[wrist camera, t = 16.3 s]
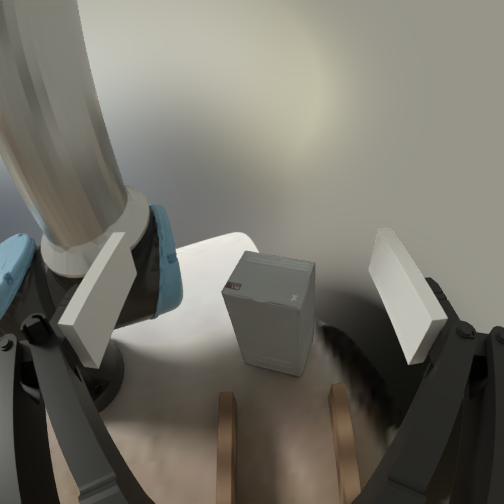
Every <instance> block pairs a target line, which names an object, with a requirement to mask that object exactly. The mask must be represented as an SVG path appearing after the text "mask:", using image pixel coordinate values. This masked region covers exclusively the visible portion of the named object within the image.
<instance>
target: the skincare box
mask: <svg viewBox="0 0 504 504" xmlns="http://www.w3.org/2000/svg"><path fill="white" fill-rule="evenodd" d="M221 293H222V295H223V298H224V301H225V304H226V307H227V310H228V313H229V316H230V319H231V322H232V325H233V328H234V332H235V335H236V338H237V341H238V344H239V347H240V350H241V352H242V355H243V358H244V361H245V363H247V364H251V365H254V366H258V367H262V368H266V369H270V370H274V371H278V372H282V373H286V374H290V375H295V376H299V377H300V376H301V375H302V372H303V369H304V366H305V363H306V360H307V357H308V354H309V351H310V348H311V344H312V341H313V335H314V309H315V308H314V307H315V262H310V261H304V260H298V259H292V258H285V257H280V256H274V255H268V254H262V253H256V252H250V251H245V252H244V254H243V256H242V257H241V259H240V261H239V262H238V264H237V266H236V268H235V269H234V271H233V273H232V274H231V276H230V278H229V280H228V281H227V283H226V285H225V286H224V288H223V290H222V292H221Z"/></svg>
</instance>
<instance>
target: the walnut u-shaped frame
mask: <svg viewBox="0 0 504 504" xmlns="http://www.w3.org/2000/svg"><path fill="white" fill-rule="evenodd" d="M328 401H329V408H330V415H331V423H332V431H333V439H334V447H335V455H336V464H337V474H338V484H339V494H340V504H351V503H352V502H353V500H354V499H355V498H356V497H357V496H358V495H359V494H360V493H361V490H360V481H359V473H358V465H357V457H356V450H355V443H354V436H353V430H352V423H351V417H350V411H349V405H348V399H347V393H346V388H345V383H339V384H332V386H331V389H330V392H329V395H328ZM236 450H237V403H236V400H235V397H234V395H233V392H220V396H219V420H218V448H217V484H216V504H236Z"/></svg>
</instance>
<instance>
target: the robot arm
mask: <svg viewBox="0 0 504 504" xmlns="http://www.w3.org/2000/svg"><path fill="white" fill-rule="evenodd" d="M0 155H1V157H2V160H3V161H4V164H5V166H6V168H7V170H8V172H9V174H10V176H11V177H12V179H13V181H14V183H15V185H16V187H17V189H18V190H19V192H20V194H21V196H22V197H23V199H24V201H25V203H26V205H27V206H28V208H29V210H30V212H31V213H32V215H33V217H34V218H35V220H36V221H37V223H38V225H39V226H40V228H41V229H42V231H43V236H42V240H41V245H40V246H36V243H35V240H34V239H33V238H31V237H30V236H29V235H28V234H23V233H22V234H21V233H20V234H17V235H14V236H12V237H10V238H8V239H7V240H5V241H4V242H3V243H1V244H0V504H60V501H59V497H58V493H57V488H56V483H55V478H54V473H53V468H52V462H51V455H50V448H49V441H48V432H47V423H46V410H45V406H46V409H47V412H48V415H49V418H50V421H51V424H52V427H53V429H54V432H55V435H56V438H57V440H58V443H59V445H60V448H61V450H62V453H63V455H64V457H65V460H66V462H67V464H68V467H69V469H70V471H71V473H72V475H73V477H74V479H75V482H76V484H77V486H78V488H79V490H80V495H79V497H78V498H79V503H80V504H155V503H154V502H153V501H152V500H151V499H150V498H149V497H148V495H147V494H146V493H145V492H144V490H143V489H142V487H141V486H140V484H139V483H138V481H137V480H136V478H135V477H134V475H133V474H132V472H131V470H130V469H129V467H128V466H127V464H126V462H125V461H124V459H123V457H122V456H121V454H120V452H119V450H118V449H117V447H116V445H115V443H114V442H113V440H112V438H111V436H110V434H109V432H108V431H107V429H106V427H105V425H104V423H103V421H102V419H101V417H100V415H99V413H98V412H100V411H101V410H103V409H104V408H105V407H106V406H107V405H108V404H109V403H110V402H111V401H112V400H113V399H114V397H115V396H116V394H117V392H118V390H119V388H120V386H121V383H122V379H123V373H124V365H123V359H122V356H121V353H120V351H119V350H118V348H117V347H116V345H115V344H114V343H113V341H112V340H111V339H110V337H111V334H112V332H113V330H115V329H118V328H121V327H125V326H128V325H132V324H135V323H138V322H142V321H145V320H148V319H155V318H157V317H158V316H159V315H161V314H164V313H166V312H169V311H171V310H174V309H176V308H177V307H178V306H179V305H180V304H181V302H182V299H183V285H182V278H181V272H180V267H179V262H178V259H177V257H176V250H175V243H174V239H173V234H172V230H171V227H170V223H169V219H168V216H167V213H166V210H165V208H164V207H163V206H162V205H160V204H148V202H147V200H146V198H145V196H144V195H143V194H142V193H141V192H140V191H139V190H138V189H136V188H134V187H131V186H128V185H124V182H123V179H122V176H121V173H120V170H119V167H118V164H117V161H116V158H115V155H114V152H113V149H112V146H111V143H110V139H109V136H108V133H107V129H106V126H105V123H104V119H103V115H102V112H101V108H100V105H99V101H98V97H97V94H96V90H95V86H94V82H93V78H92V74H91V69H90V65H89V61H88V56H87V52H86V47H85V42H84V37H83V32H82V27H81V22H80V16H79V10H78V4H77V0H0ZM369 272H370V274H371V276H372V278H373V281H374V283H375V285H376V287H377V290H378V292H379V294H380V296H381V299H382V300H383V303H384V306H385V308H386V310H387V312H388V315H389V317H390V320H391V322H392V324H393V327H394V329H395V332H396V334H397V337H398V339H399V342H400V344H401V346H402V349H403V352H404V355H405V357H406V360H407V363H408V365H410V364H417V363H422V362H424V360H425V358H426V357H427V355H428V354H429V356H430V359H431V362H430V363H429V365H428V366H427V368H426V369H425V371H424V373H423V374H422V375H423V376H424V377H423V380H422V382H421V384H420V386H419V389H418V391H417V393H416V395H415V398H414V400H413V402H412V404H411V406H410V408H409V410H408V412H407V414H406V417H405V418H404V420H403V422H402V424H401V426H400V428H399V430H398V432H397V434H396V436H395V438H394V439H393V441H392V443H391V445H390V447H389V448H388V450H387V452H386V454H385V455H384V457H383V459H382V460H381V462H380V464H379V465H378V467H377V468H376V470H375V472H374V473H373V475H372V476H371V478H370V480H369V481H368V483H367V484H366V486H365V487H364V489H363V490H362V491H361V493H360V494H359V495H358V496H357V497H356V498H355V499H354V500H353V502H352V503H351V504H425V502H426V494H425V490H426V488H427V485H428V483H429V481H430V479H431V477H432V475H433V473H434V471H435V469H436V467H437V464H438V462H439V460H440V458H441V455H442V453H443V451H444V448H445V446H446V443H447V441H448V438H449V435H450V433H451V430H452V427H453V425H454V422H455V419H456V416H457V413H458V410H459V407H460V404H461V401H462V397H463V394H464V408H463V420H462V421H463V422H462V431H461V439H460V448H459V454H458V461H457V467H456V472H455V478H454V483H453V487H452V492H451V497H450V501H449V504H504V328H503V327H501V326H496V327H493V329H492V330H491V332H490V333H489V334H484V333H478V332H476V331H475V329H474V328H473V326H472V325H470V324H469V323H467V322H465V321H460V319H459V318H458V316H457V314H456V312H455V311H454V309H453V307H452V306H451V304H450V302H449V301H448V300H447V297H446V296H445V294H444V293H443V291H442V290H441V288H440V286H439V285H438V283H436V282H435V281H434V280H433V279H432V278H424V277H423V275H422V274H421V272H420V270H419V269H418V267H417V266H416V264H415V263H414V261H413V260H412V258H411V256H410V255H409V253H408V252H407V250H406V249H405V247H404V246H403V244H402V243H401V242H400V240H399V239H398V237H397V236H396V234H395V233H394V231H393V230H392V229H391V228H378V230H377V235H376V240H375V244H374V248H373V253H372V258H371V262H370V266H369Z"/></svg>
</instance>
